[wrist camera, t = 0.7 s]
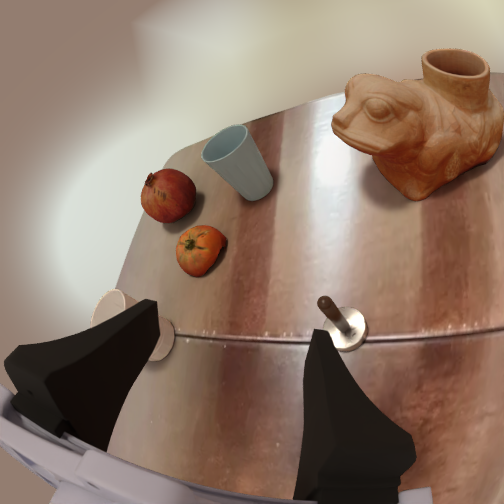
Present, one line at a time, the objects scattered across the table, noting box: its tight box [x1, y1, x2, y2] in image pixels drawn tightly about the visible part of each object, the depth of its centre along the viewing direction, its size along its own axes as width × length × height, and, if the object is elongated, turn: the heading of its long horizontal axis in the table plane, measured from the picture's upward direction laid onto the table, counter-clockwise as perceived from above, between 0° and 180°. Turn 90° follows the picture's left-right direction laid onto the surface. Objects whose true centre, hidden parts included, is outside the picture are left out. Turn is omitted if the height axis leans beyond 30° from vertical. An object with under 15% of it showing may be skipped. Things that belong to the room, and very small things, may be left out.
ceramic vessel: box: [331, 48, 504, 201], centre depth 28 cm, size 14×26×15 cm, turn 105°
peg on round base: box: [317, 296, 368, 352], centre depth 26 cm, size 4×4×9 cm
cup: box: [201, 125, 273, 201], centre depth 44 cm, size 8×8×10 cm
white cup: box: [90, 289, 175, 361], centre depth 38 cm, size 8×8×10 cm
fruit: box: [141, 169, 196, 223], centre depth 51 cm, size 11×10×10 cm
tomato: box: [176, 225, 226, 277], centre depth 45 cm, size 8×7×7 cm
